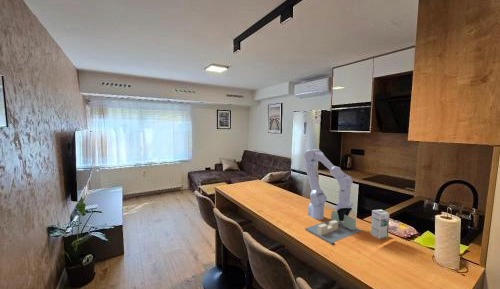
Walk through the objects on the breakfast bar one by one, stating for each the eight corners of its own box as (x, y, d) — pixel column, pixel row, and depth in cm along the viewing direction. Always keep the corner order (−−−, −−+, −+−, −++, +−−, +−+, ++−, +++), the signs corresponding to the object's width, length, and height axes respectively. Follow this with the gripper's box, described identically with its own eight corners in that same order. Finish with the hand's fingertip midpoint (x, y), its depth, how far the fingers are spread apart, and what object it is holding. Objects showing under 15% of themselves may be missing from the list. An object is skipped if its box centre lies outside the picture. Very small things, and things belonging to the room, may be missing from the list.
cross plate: (330, 220, 136) (331, 211, 136) (334, 219, 138) (334, 210, 137) (352, 230, 125) (352, 220, 124) (355, 228, 126) (356, 219, 126)
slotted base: (305, 229, 128) (305, 220, 127) (335, 220, 142) (335, 211, 141) (331, 244, 113) (332, 234, 112) (362, 232, 127) (363, 222, 126)
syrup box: (378, 241, 117) (381, 213, 116) (370, 235, 123) (372, 209, 122) (387, 239, 119) (390, 213, 117) (378, 234, 124) (380, 208, 123)
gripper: (342, 201, 123) (341, 225, 124) (358, 197, 130) (356, 219, 132) (331, 197, 128) (330, 220, 130) (347, 193, 136) (346, 215, 137)
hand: (343, 219), depth 131 cm, fingers closed on cross plate, 3 cm apart
